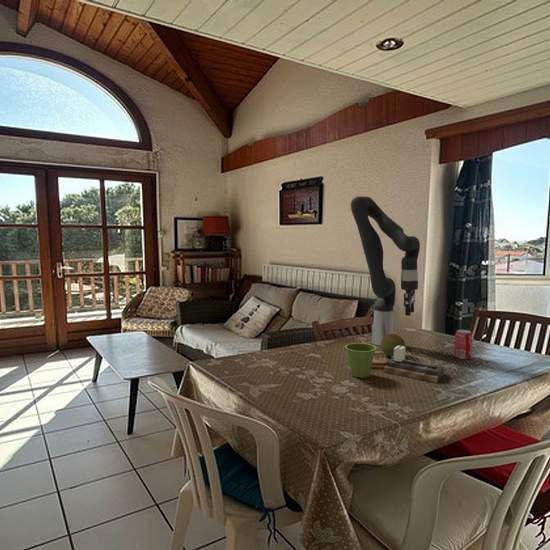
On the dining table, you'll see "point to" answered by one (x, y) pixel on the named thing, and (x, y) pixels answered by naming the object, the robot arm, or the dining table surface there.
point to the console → (415, 370)
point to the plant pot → (360, 358)
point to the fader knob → (399, 353)
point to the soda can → (463, 344)
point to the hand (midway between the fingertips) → (409, 313)
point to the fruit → (391, 343)
